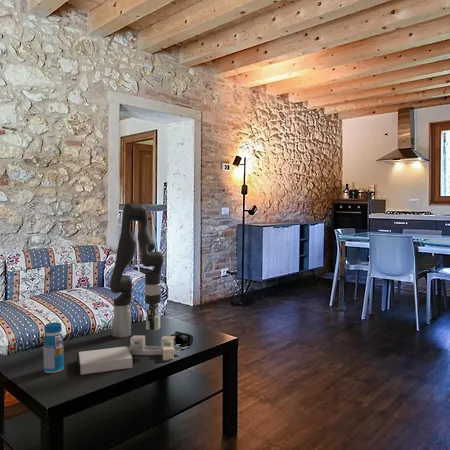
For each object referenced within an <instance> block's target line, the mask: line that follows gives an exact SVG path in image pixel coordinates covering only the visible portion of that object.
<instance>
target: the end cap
mask: <svg viewBox="0 0 450 450" xmlns="http://www.w3.org/2000/svg"><path fill="white" fill-rule="evenodd" d="M169 336H175V345H176V344H181V345H179V346H180V347H185V346H190V347H191V346H192V345H193V343H194V336H193V334H190V333H185V332H182V331H175V332H174V333H172V334H170V335H169Z"/></svg>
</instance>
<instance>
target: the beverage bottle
mask: <svg viewBox="0 0 450 450" xmlns="http://www.w3.org/2000/svg"><path fill="white" fill-rule="evenodd" d="M44 332H45V335H44V337H43V340H42V342H43V345H42V351H43V353H42V354H43V372H44V373H47V374H54V373H55V374H56V373H58V372H61V371H63V370H64V368H65V365H64V364H65V363H64V362H65V360H64V353H65V352H64V351H65V350H64V348H65V344H64V336H63V334H62V333H61V332H62V323H61V322H50V323H46V324H44Z"/></svg>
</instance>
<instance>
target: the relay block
mask: <svg viewBox="0 0 450 450" xmlns="http://www.w3.org/2000/svg"><path fill="white" fill-rule="evenodd" d="M169 359H174V360H175V356H174V347H163V356H162V361H170V360H169Z"/></svg>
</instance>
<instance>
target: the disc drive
mask: <svg viewBox="0 0 450 450" xmlns="http://www.w3.org/2000/svg"><path fill="white" fill-rule="evenodd" d="M128 348H129V347H128V346H127V345H126V346H119V347H118V346H117V347H111V348H110V347H109V348H101V349H95V350H94V349H93V350H85V351H76V353H77V354H76V358H77V359H76V360H77V370H78V372H77V373H78V376H82V375H88V374H89V375H90V374H94V373H95V374H96V373H102V372H109V371H110V372H111V371H118V370H124V369H132V368H133V355H131V354H130V352H129V350H128Z"/></svg>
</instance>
